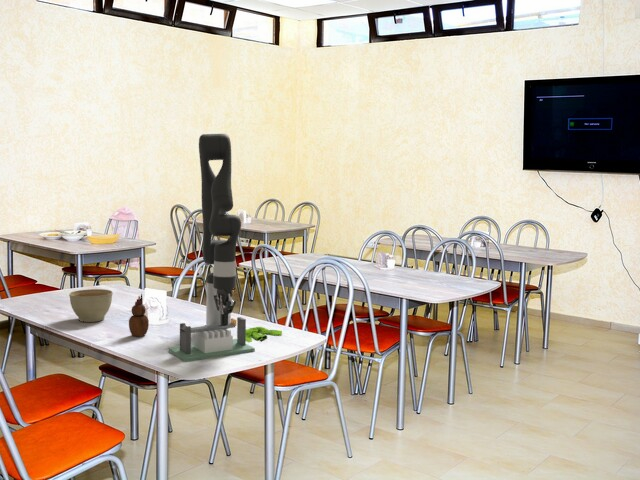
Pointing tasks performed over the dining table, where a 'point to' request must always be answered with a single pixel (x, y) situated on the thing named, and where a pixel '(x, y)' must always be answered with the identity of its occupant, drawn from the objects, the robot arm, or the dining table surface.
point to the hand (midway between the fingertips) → (224, 324)
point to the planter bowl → (91, 304)
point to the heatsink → (212, 343)
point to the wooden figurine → (138, 319)
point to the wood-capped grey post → (211, 327)
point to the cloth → (260, 333)
